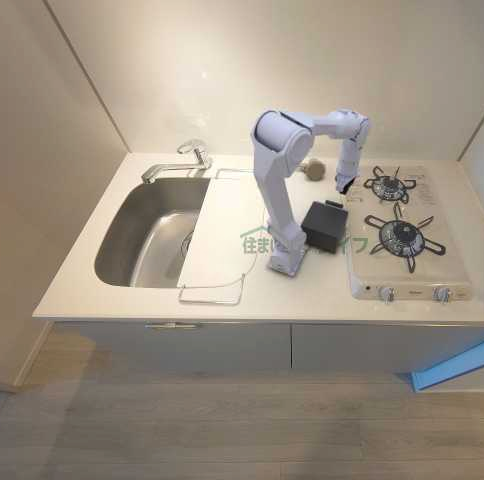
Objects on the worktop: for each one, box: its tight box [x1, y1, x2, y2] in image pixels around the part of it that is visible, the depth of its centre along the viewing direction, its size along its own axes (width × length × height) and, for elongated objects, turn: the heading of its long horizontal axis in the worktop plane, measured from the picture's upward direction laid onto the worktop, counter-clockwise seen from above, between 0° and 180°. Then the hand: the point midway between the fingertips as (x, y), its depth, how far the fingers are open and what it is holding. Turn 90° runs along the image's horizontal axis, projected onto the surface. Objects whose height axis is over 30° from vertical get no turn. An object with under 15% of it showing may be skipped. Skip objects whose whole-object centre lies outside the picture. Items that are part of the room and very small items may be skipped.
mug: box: [301, 157, 326, 181], centre depth 100 cm, size 8×10×10 cm
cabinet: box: [299, 200, 350, 255], centre depth 82 cm, size 11×12×9 cm
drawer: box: [315, 199, 349, 212], centre depth 84 cm, size 13×10×7 cm
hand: (343, 192), depth 83 cm, fingers closed
